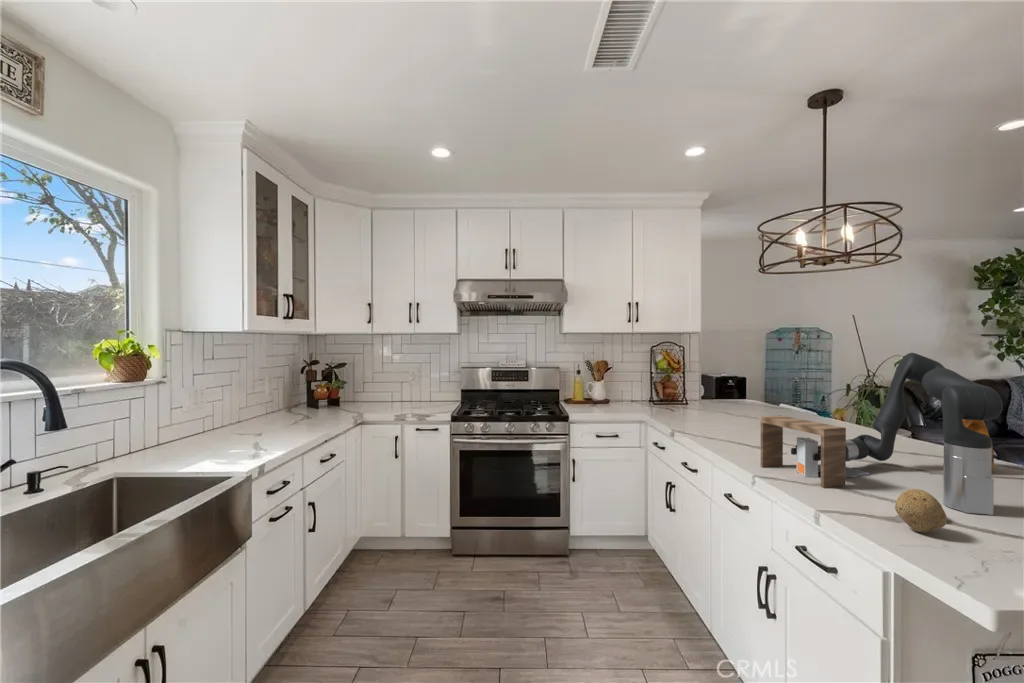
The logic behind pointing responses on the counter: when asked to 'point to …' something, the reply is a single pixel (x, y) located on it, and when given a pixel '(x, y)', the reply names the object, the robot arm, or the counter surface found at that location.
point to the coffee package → (981, 428)
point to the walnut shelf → (830, 435)
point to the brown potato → (920, 510)
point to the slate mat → (849, 472)
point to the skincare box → (807, 457)
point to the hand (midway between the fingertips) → (802, 454)
